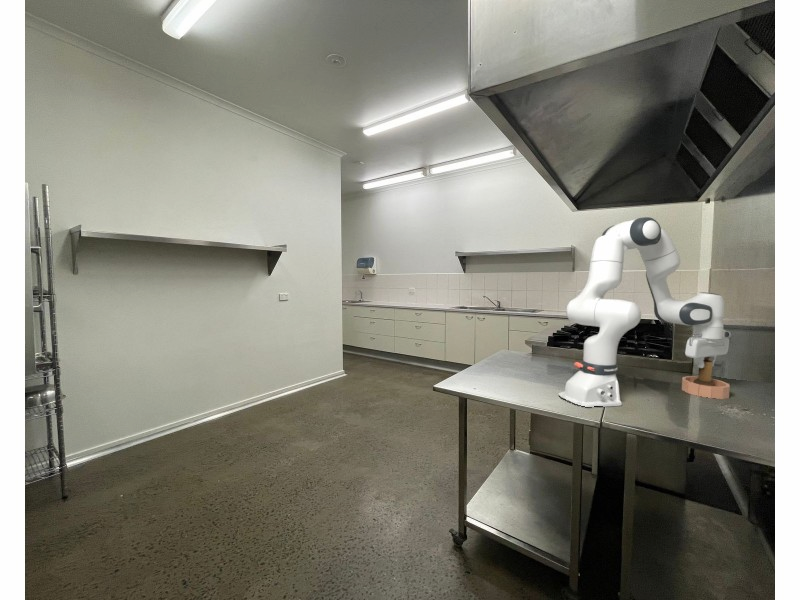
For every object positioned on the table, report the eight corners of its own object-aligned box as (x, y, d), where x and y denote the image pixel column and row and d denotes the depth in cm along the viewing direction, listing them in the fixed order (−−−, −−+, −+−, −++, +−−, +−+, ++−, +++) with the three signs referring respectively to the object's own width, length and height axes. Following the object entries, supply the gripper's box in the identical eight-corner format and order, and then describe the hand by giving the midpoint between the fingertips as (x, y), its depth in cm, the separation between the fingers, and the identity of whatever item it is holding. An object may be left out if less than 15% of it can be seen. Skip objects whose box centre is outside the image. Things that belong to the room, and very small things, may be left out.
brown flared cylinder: (719, 390, 131) (722, 345, 130) (703, 390, 131) (705, 345, 130) (704, 384, 137) (707, 342, 136) (689, 384, 138) (691, 342, 136)
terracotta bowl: (714, 400, 126) (714, 389, 125) (673, 388, 139) (674, 378, 138) (737, 396, 130) (738, 384, 130) (695, 385, 143) (696, 374, 143)
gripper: (699, 336, 126) (697, 371, 127) (733, 332, 133) (731, 366, 134) (681, 333, 132) (679, 367, 133) (714, 330, 139) (712, 362, 140)
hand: (705, 367), depth 134 cm, fingers closed on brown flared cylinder, 4 cm apart
